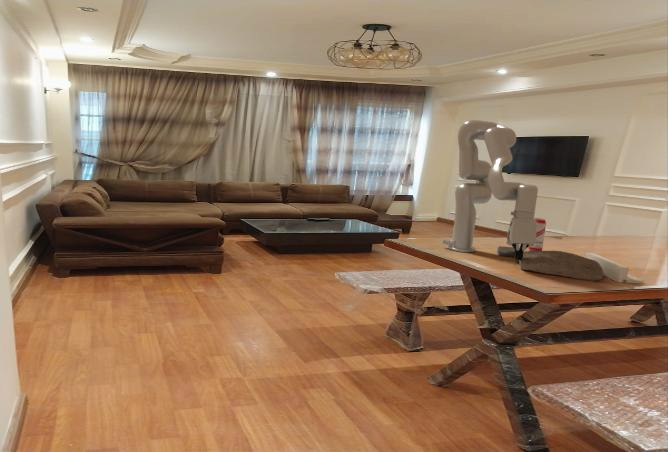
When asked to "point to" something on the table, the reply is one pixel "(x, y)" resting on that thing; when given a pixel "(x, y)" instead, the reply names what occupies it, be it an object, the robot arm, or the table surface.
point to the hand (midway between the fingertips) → (517, 259)
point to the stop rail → (614, 269)
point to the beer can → (539, 235)
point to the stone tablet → (561, 264)
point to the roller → (505, 251)
